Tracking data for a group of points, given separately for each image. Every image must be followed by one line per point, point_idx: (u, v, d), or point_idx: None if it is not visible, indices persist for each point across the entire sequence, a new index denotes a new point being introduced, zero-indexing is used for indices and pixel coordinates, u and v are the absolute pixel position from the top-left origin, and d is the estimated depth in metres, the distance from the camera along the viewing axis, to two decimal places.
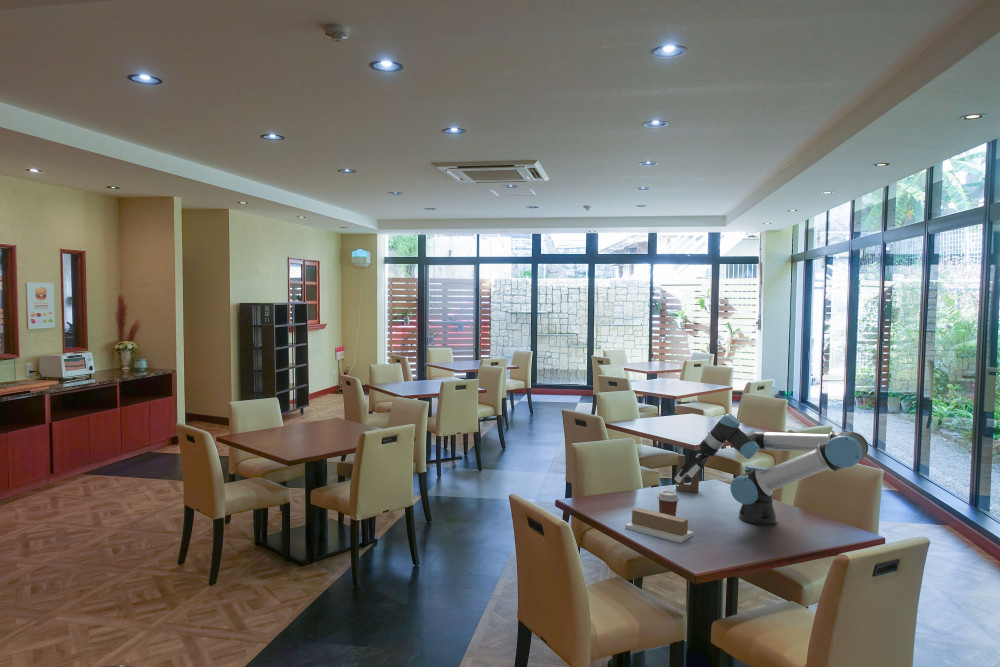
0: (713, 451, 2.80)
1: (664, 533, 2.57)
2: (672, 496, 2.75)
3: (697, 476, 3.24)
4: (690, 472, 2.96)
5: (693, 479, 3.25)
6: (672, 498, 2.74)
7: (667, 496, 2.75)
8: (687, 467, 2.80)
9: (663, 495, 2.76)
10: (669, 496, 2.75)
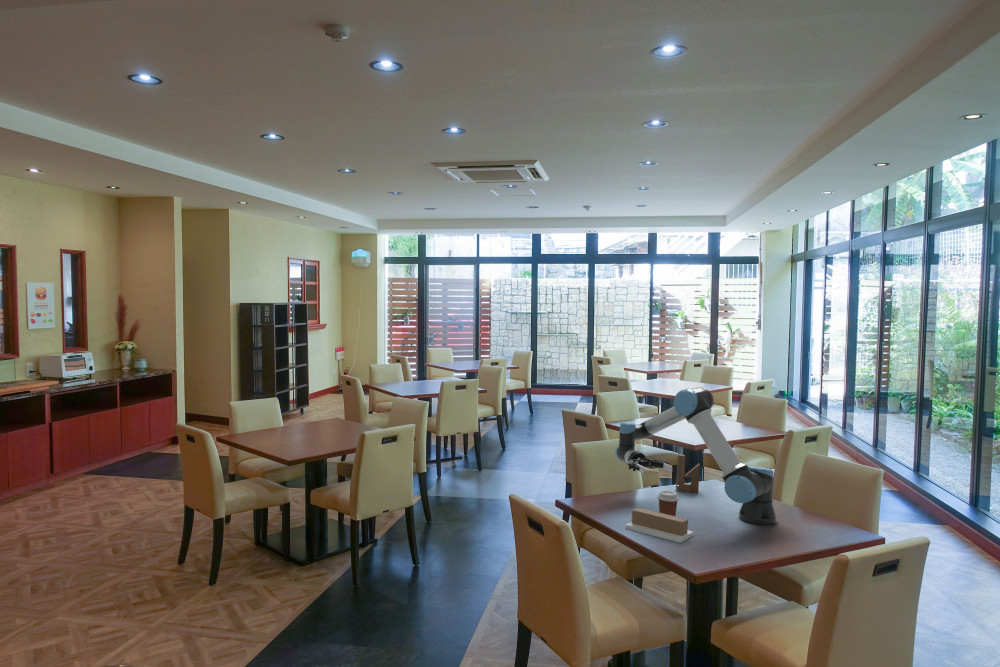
0: (632, 453, 3.06)
1: (664, 533, 2.57)
2: (672, 496, 2.75)
3: (697, 476, 3.24)
4: (668, 469, 2.90)
5: (693, 479, 3.25)
6: (672, 498, 2.74)
7: (667, 496, 2.75)
8: (628, 464, 2.94)
9: (663, 495, 2.76)
10: (669, 496, 2.75)
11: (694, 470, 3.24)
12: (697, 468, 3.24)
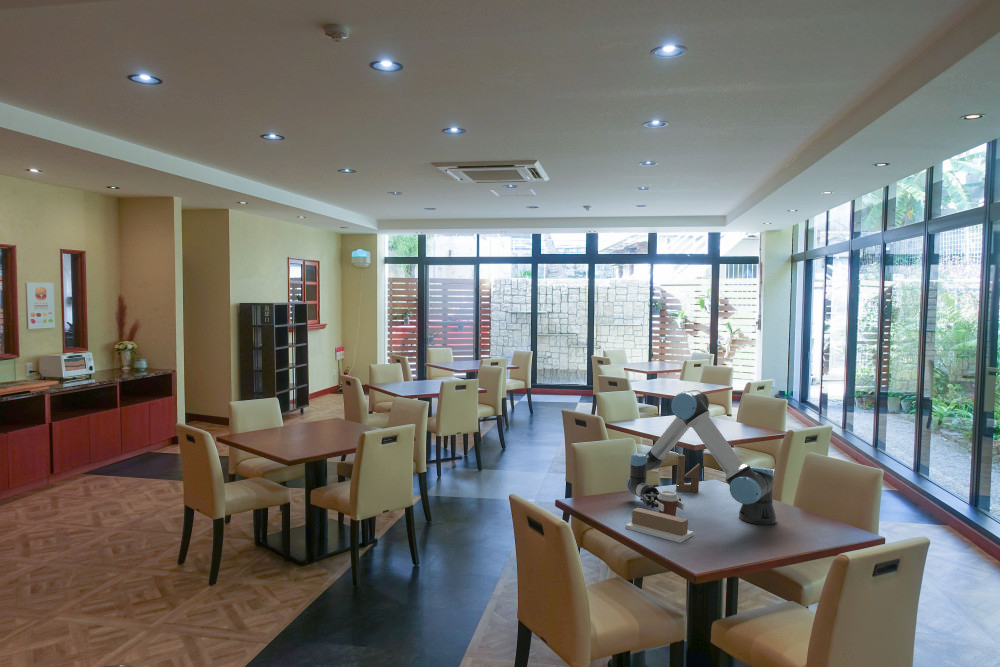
0: (644, 487, 2.94)
1: (664, 533, 2.57)
2: (672, 496, 2.75)
3: (697, 476, 3.24)
4: (680, 506, 2.76)
5: (693, 479, 3.25)
6: (672, 498, 2.74)
7: (667, 496, 2.75)
8: (645, 500, 2.81)
9: (663, 495, 2.76)
10: (669, 496, 2.75)
11: (694, 470, 3.24)
12: (697, 468, 3.24)
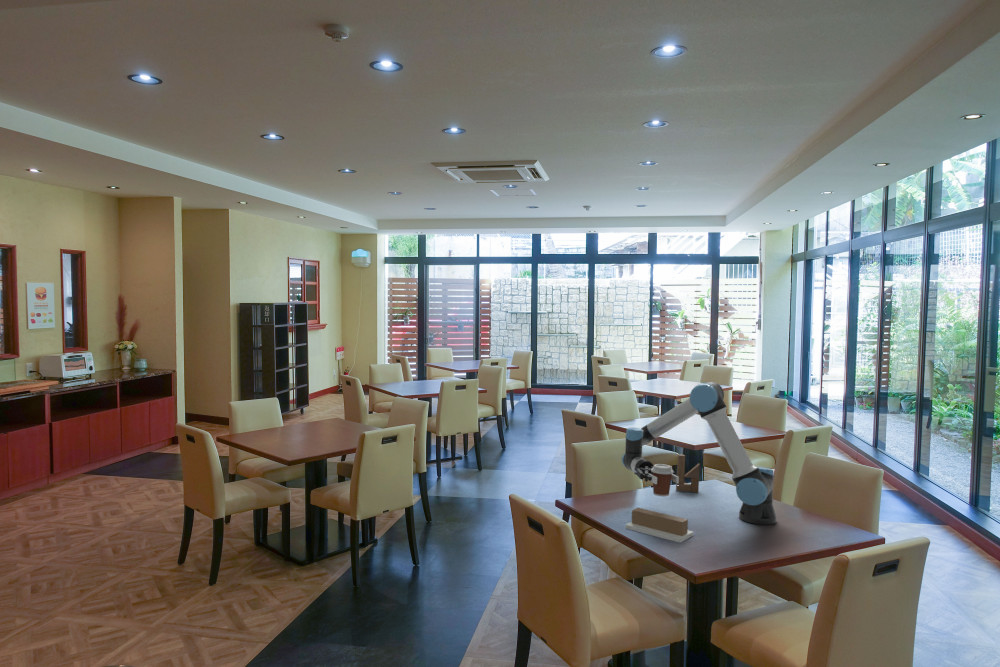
0: (639, 461, 2.87)
1: (664, 533, 2.57)
2: (666, 469, 2.68)
3: (697, 476, 3.24)
4: (674, 480, 2.69)
5: (693, 479, 3.25)
6: (666, 471, 2.67)
7: (661, 469, 2.68)
8: (639, 474, 2.74)
9: (656, 468, 2.69)
10: (663, 469, 2.68)
11: (694, 470, 3.24)
12: (697, 468, 3.24)
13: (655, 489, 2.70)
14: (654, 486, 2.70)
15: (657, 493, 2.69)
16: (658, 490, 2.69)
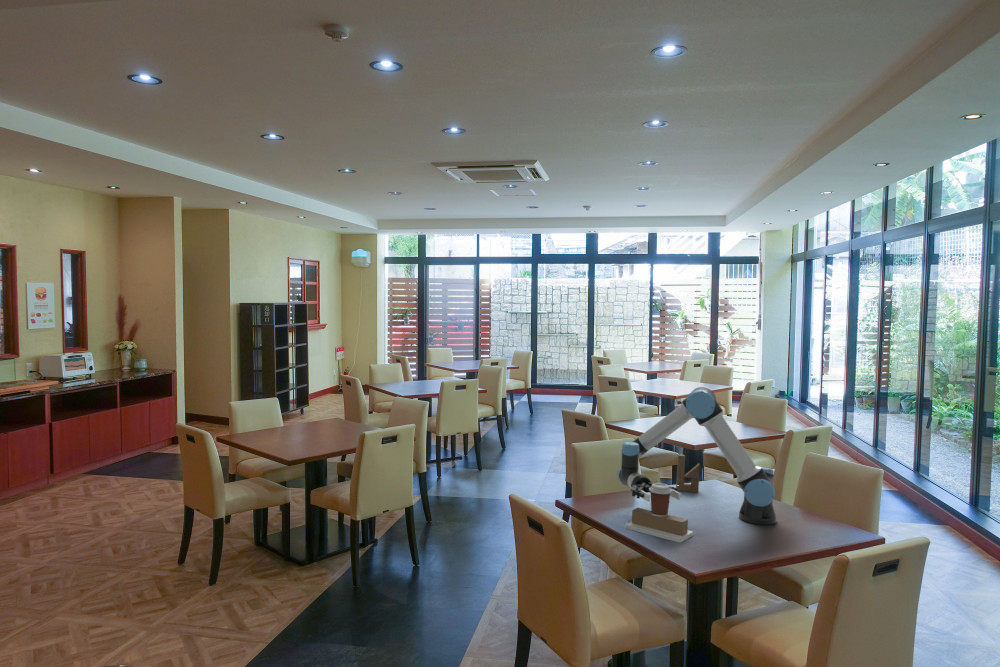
0: (636, 477, 2.79)
1: (664, 533, 2.57)
2: (664, 488, 2.60)
3: (697, 476, 3.24)
4: (676, 496, 2.63)
5: (693, 479, 3.25)
6: (664, 491, 2.59)
7: (659, 488, 2.60)
8: (632, 490, 2.67)
9: (655, 487, 2.61)
10: (661, 488, 2.60)
11: (694, 470, 3.24)
12: (697, 468, 3.24)
13: (653, 509, 2.62)
14: (652, 506, 2.62)
15: (655, 513, 2.61)
16: (656, 510, 2.61)
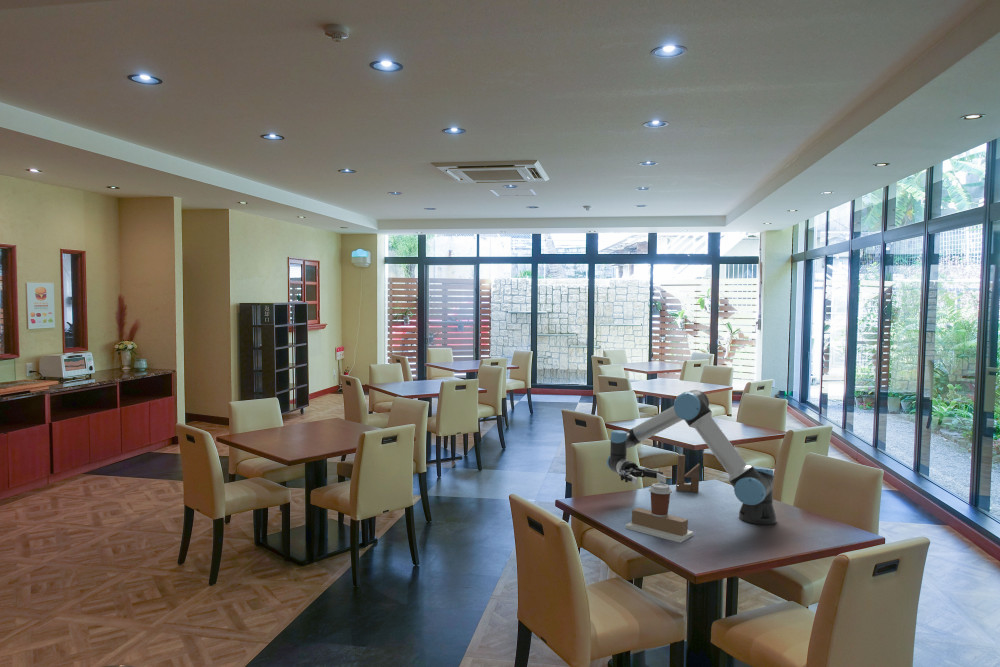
0: (624, 463, 2.93)
1: (664, 533, 2.57)
2: (664, 489, 2.60)
3: (697, 476, 3.24)
4: (662, 479, 2.78)
5: (693, 479, 3.25)
6: (664, 491, 2.59)
7: (659, 488, 2.60)
8: None
9: (655, 487, 2.61)
10: (661, 488, 2.60)
11: (694, 470, 3.24)
12: (697, 468, 3.24)
13: (653, 509, 2.62)
14: (652, 506, 2.62)
15: (655, 513, 2.61)
16: (656, 510, 2.61)
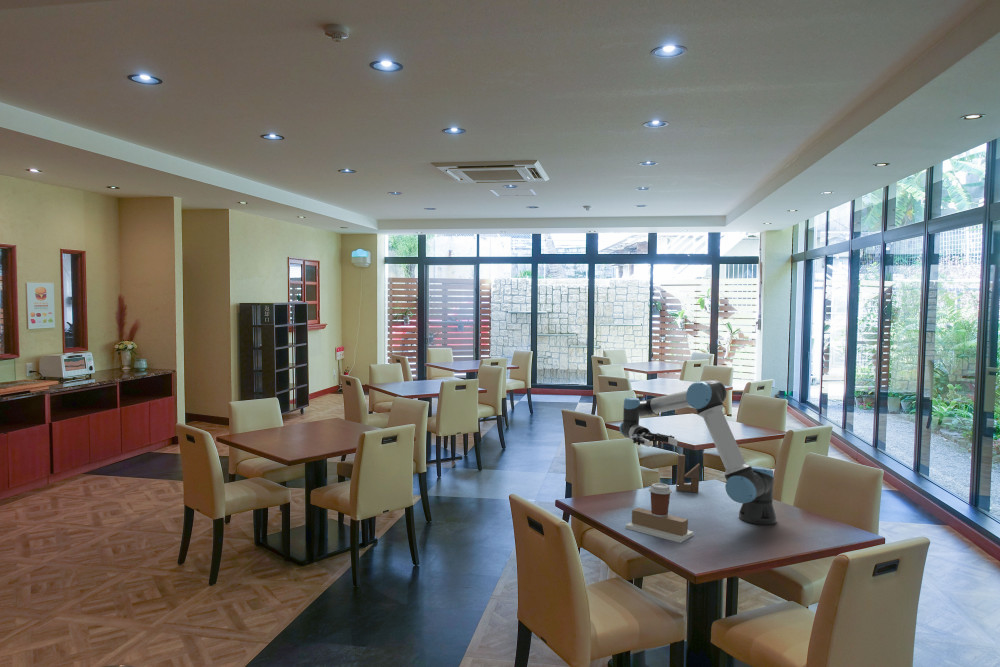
0: (637, 428, 3.03)
1: (664, 533, 2.57)
2: (664, 489, 2.60)
3: (697, 476, 3.24)
4: (674, 443, 2.87)
5: (693, 479, 3.25)
6: (664, 491, 2.59)
7: (659, 488, 2.60)
8: (633, 438, 2.91)
9: (655, 487, 2.61)
10: (661, 488, 2.60)
11: (694, 470, 3.24)
12: (697, 468, 3.24)
13: (653, 509, 2.62)
14: (652, 506, 2.62)
15: (655, 513, 2.61)
16: (656, 510, 2.61)
